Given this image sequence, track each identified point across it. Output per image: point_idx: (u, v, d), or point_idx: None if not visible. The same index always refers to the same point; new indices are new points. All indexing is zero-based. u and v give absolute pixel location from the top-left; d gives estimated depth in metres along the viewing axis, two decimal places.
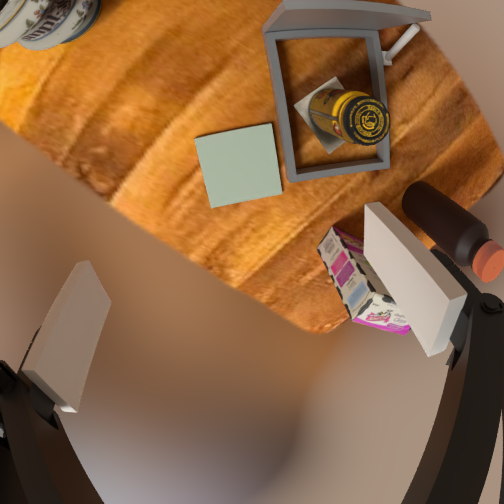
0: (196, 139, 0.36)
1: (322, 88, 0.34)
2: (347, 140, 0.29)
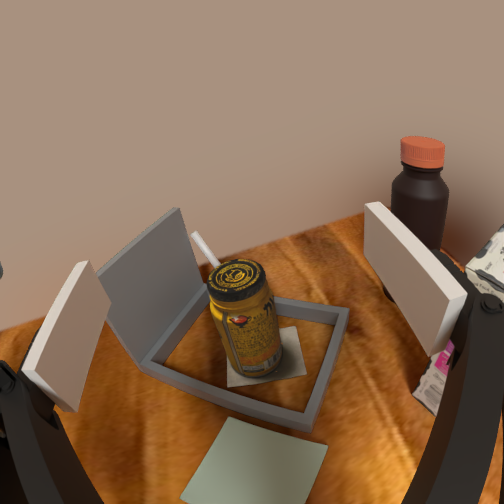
0: (181, 496, 0.19)
1: None
2: (257, 314, 0.25)
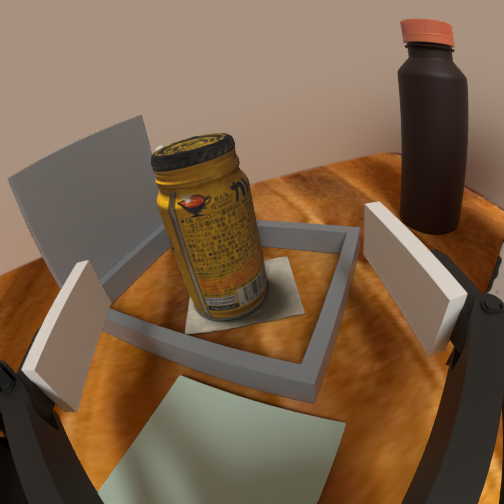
0: None
1: None
2: (221, 194, 0.16)
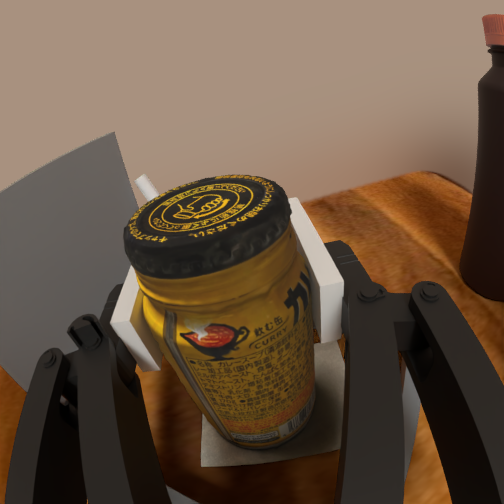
0: None
1: None
2: (268, 320, 0.08)
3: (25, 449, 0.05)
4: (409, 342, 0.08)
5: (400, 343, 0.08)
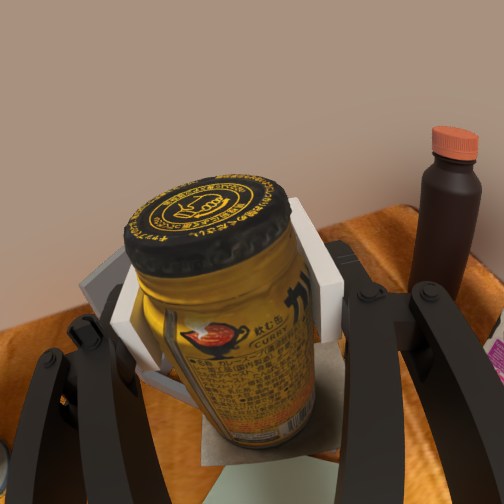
0: None
1: None
2: (268, 319, 0.08)
3: (25, 449, 0.05)
4: (408, 342, 0.08)
5: (400, 342, 0.08)
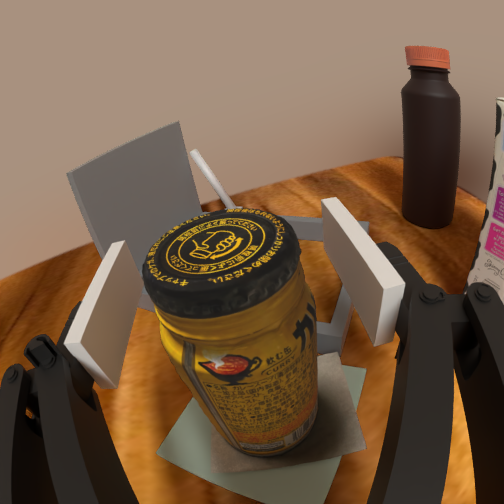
0: (159, 450, 0.14)
1: None
2: (279, 350, 0.09)
3: (0, 459, 0.04)
4: (461, 342, 0.07)
5: (454, 343, 0.07)
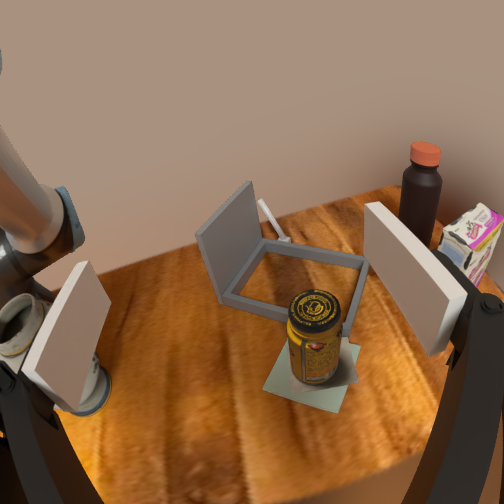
0: (263, 386, 0.35)
1: (291, 362, 0.37)
2: (332, 341, 0.28)
3: None
4: None
5: None
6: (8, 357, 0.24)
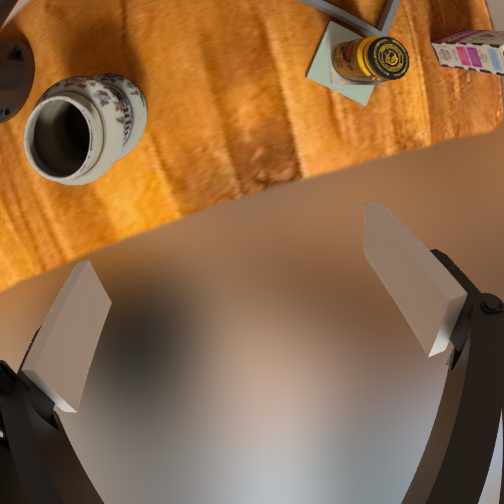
0: (308, 76, 0.36)
1: (330, 54, 0.34)
2: None
3: None
4: None
5: None
6: (79, 176, 0.25)
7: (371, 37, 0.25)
